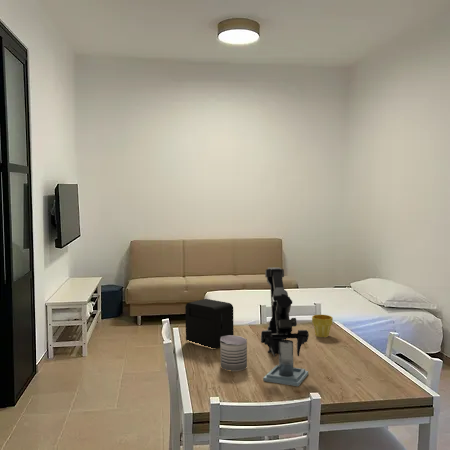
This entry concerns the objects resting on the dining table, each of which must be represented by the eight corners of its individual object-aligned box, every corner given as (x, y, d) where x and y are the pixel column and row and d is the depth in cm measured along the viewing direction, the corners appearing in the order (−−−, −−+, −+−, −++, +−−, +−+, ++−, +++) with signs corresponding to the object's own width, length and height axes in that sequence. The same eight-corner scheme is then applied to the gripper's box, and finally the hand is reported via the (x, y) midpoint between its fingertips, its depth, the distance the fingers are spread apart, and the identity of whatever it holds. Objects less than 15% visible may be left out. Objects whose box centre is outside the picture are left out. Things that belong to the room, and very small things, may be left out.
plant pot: (334, 338, 243) (334, 319, 243) (313, 338, 243) (313, 319, 243) (330, 332, 254) (330, 314, 253) (310, 332, 254) (310, 314, 253)
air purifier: (235, 343, 236) (235, 302, 235) (215, 350, 226) (215, 308, 224) (206, 336, 250) (205, 297, 249) (185, 342, 239) (185, 302, 238)
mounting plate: (263, 380, 188) (263, 375, 188) (275, 369, 200) (275, 363, 200) (298, 386, 182) (298, 380, 182) (308, 374, 194) (308, 368, 194)
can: (233, 360, 212) (233, 333, 211) (252, 366, 204) (252, 338, 203) (214, 366, 204) (214, 338, 203) (233, 373, 196) (233, 344, 195)
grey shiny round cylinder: (276, 373, 192) (275, 341, 191) (286, 370, 195) (286, 338, 194) (285, 377, 187) (285, 344, 187) (296, 374, 190) (296, 342, 190)
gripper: (261, 310, 193) (264, 346, 183) (307, 310, 194) (313, 345, 183) (259, 325, 202) (262, 359, 191) (304, 324, 202) (309, 359, 192)
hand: (286, 355), depth 189 cm, fingers open, 9 cm apart
